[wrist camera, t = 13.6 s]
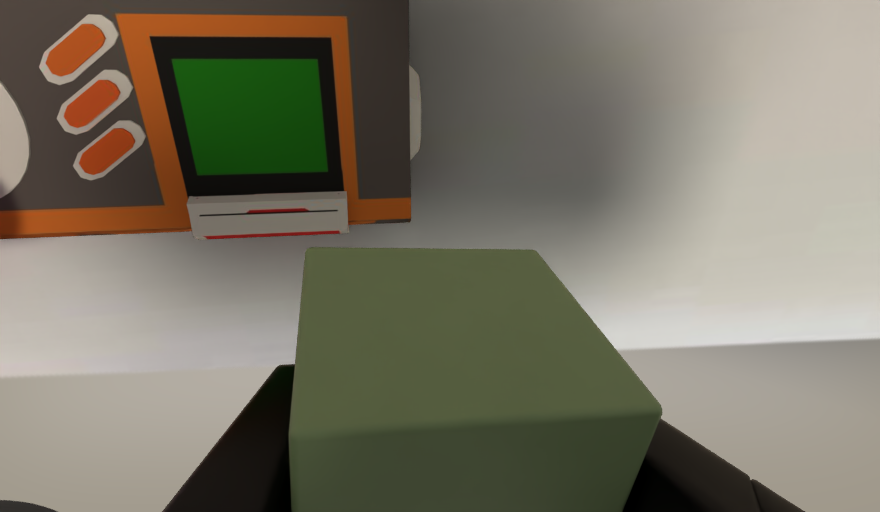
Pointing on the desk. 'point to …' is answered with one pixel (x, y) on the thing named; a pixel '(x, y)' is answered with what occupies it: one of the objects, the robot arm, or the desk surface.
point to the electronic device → (205, 117)
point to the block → (457, 388)
